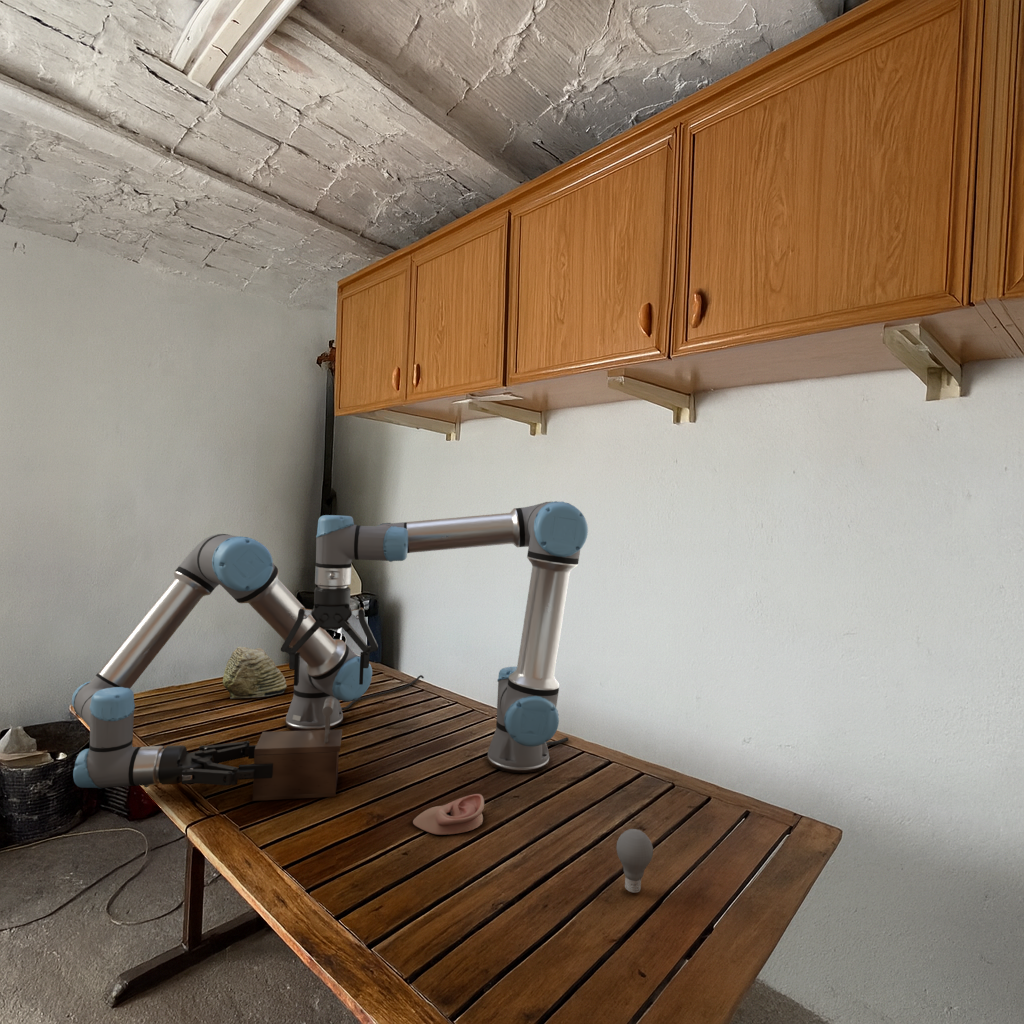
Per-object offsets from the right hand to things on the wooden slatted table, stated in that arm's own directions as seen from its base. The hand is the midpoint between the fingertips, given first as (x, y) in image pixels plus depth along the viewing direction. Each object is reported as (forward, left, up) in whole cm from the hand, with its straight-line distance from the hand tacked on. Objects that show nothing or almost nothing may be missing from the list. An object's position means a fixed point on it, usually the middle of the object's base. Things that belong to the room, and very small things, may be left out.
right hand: (329, 683), depth 138 cm
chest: (+6, -1, -23) cm, 23 cm away
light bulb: (-44, +53, -23) cm, 73 cm away
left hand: (+10, -2, -16) cm, 19 cm away
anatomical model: (-22, +22, -23) cm, 38 cm away
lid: (+5, -1, -13) cm, 14 cm away
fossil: (+14, -70, -23) cm, 75 cm away
